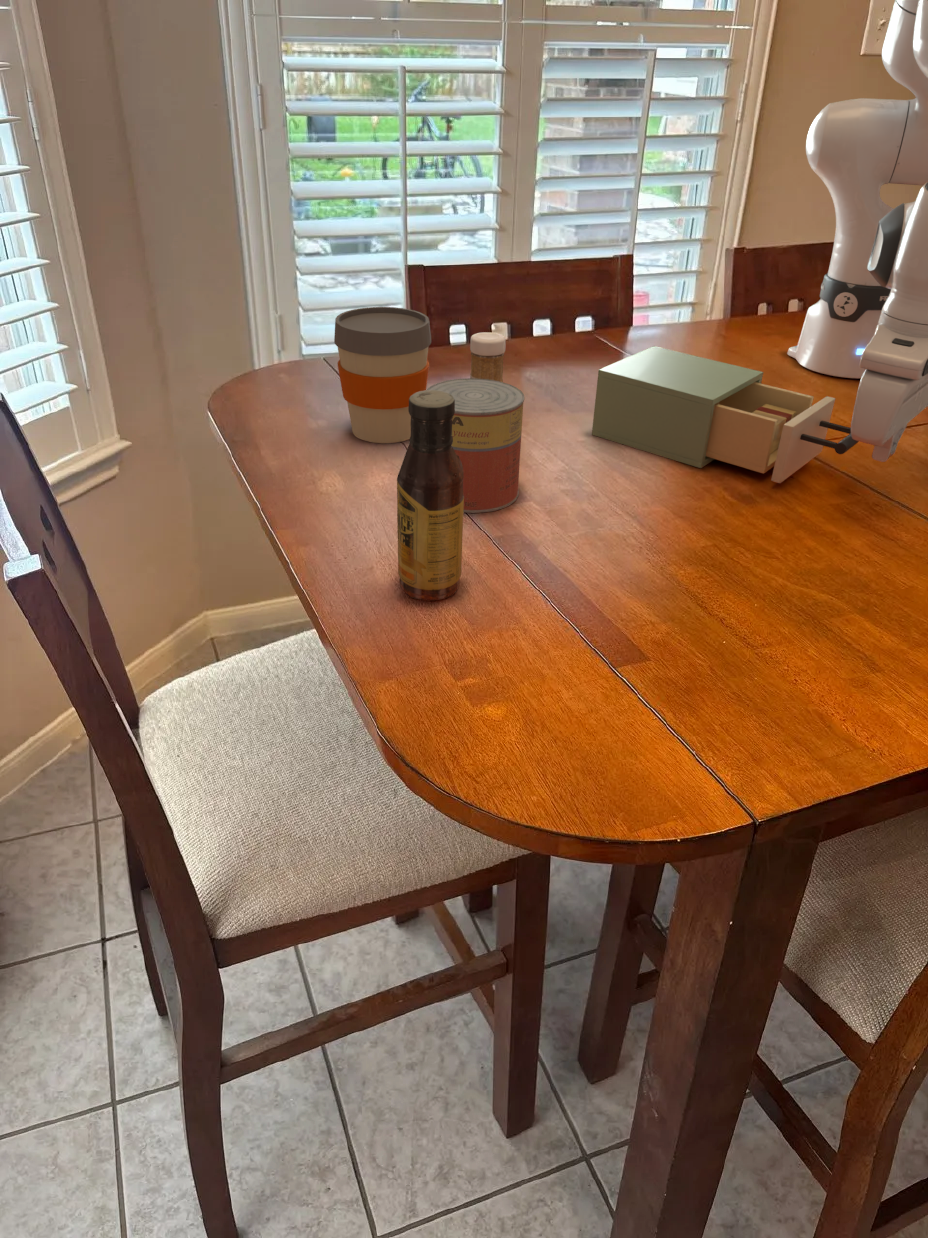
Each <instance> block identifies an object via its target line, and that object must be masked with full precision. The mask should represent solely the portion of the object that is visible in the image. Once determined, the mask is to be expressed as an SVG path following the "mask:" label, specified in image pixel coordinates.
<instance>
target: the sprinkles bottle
mask: <svg viewBox="0 0 928 1238" xmlns="http://www.w3.org/2000/svg"><path fill="white" fill-rule="evenodd" d="M469 341H470V343H469V350H470V355H471V356H470V374H469V378H474V379H488V380H495V381H500V382H504V379H503V377H504V372H503V371H504V356H505V353H506V347H507V345H506V344H507V340H506V337H505V336H504V335H503V334H501V333H498V332H490V331H489V332H488V331H487V332H486V331H485V332H484V331H483V332H477V333H474V334H472V335H471V336H470V340H469Z"/></svg>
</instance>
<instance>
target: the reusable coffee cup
mask: <svg viewBox="0 0 928 1238" xmlns="http://www.w3.org/2000/svg"><path fill="white" fill-rule="evenodd" d="M333 341H334V342H333V343H334V344H335V346H336V347H337V351H338V358H339V360H338V361H337V369H338V375H339V376H338V377H339V381H340V387H341V393H342V397H343V399H344V400H345V402H346V404H347V408H348V414H349V419H350V420H349V421H350V425H351V426H350V427H351V431H352V434H353V436H355V437H356V438H358V439H359V440H362V441H365V442H370V443H373V444H394V443H395V444H396V443H400V442H401V443H402V442H404V441H409V440H410V436H411V416H410V414H409V409H408V408H409V398H410V396H411V395H413V394H414V393H416V392H419V391H424V390H427V386H428V380H429V371H430V370H429V369H430V361H429V360H428V355H429V347H430V346H431V345H432V332H431V324H430V318H429V316H427V315H426V314H425V313H422V312H421V311H418V310H414V309H410V308H404V307H394V306H368V307H367V306H366V307H360V308H354V309H350V310H346V311H344V312H342V313H340V314H338V315H336V317H335V320H334V338H333Z"/></svg>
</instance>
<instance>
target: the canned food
mask: <svg viewBox="0 0 928 1238" xmlns="http://www.w3.org/2000/svg"><path fill="white" fill-rule="evenodd" d="M426 390H438V391H443V392H447V393H449V394H451V395H452V396H453V398H454V400H455V413H454V416H453V418H452V437H453V444H452V447H453V449H454V451H455V453H456V454H457V455H458V456H459V458H460V460H461V462H462V465H463V472H464V478H463V495H464V508H463V513H466V514H482V513H483V514H484V513H491V512H496V511H499V510H502V509H506V508H507V507H509V506H512V505H513V504H514V503H515V502H516V501H517V499H518V498H519V493H520V491H519V482H520V481H519V480H520V478H519V477H520V466H521V464H520V463H521V451H522V450H521V449H522V448H521V447H522V430H523V416H524V415H523V414H524V402H525V394H524V392H523V391H522V390H520V389H519V387H516V386H515V385H513V384H509V383H507V382H504V381H503V382H500V381H495V380H488V379H474V378H470V377H469V378H454V379H449V380H444V381H440V382H437V383H434V384H433V385H431V386H429V387H428V388H426Z"/></svg>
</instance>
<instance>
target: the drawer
mask: <svg viewBox="0 0 928 1238" xmlns="http://www.w3.org/2000/svg"><path fill="white" fill-rule="evenodd" d="M813 402H814V395H810V394H806V393H801V392H798V391H794V390H789V389H785V388H782V387H777V386H774V385H773V386H772V385H769V384H765V383H762V382H761V383H757V382H754V383H752V384H750V385H748V386H747V387H745V388H743V389H741V390H740V391H738V392H736V393H734V394H732V395H731V396H729V397H727V398H725V399H723V400H722V401H720V402H718V403H716V404H715V406H714V411H713V417H712V422H711V428H710V433H709V439H708V444H707V450H706V456H707V457H710V458H713V459H714V460H716V461H720V462H723V463H727V464H730V465H733V466H737V467H740V468H743V469H746V470H750V471H753V472H756V473H760V474H765V473H767V472H768V471H770V470H771V469H772V468H773V470H772V475H771V479H770V481H771V482H774V483H776V484H782V483H783V482H784V481H785V480H787V479H788V478H789V477H791V476H792V475H793V474H795V473H796V472H798V471H799V470H800V469H801V468H803V467H804V466H806V464H808V463H809V462H810V461H812V460H813V459H815V457H817V456H818V455H819V454H821V453H822V452H823V449H824V447H826V448H831V449H833V450H834V452H835V453H836V454H838V455H844V454H845V453H846V452H848V451H849V450H850V449H851V448H853V447H854V446H856V445H857V444H858V443H860V441H856V440H854V439H852V436H851V427H848V426H846V425H841V424H837V423H834V422H831V418H832V414H833V410H834V406H835V403H836V398H835V397H833V396H828V395H826V396H825V397H823V398H822V399H820V400H819V401H817V402H815V403H814V404H813ZM765 404H769V405H773V406H777V407H780V408H784V409H788V410H792V411H796V415H795V417H794V418H793V419H791V420H790V421H788V422H787V423H785V424H784V426H783V430H782V435H781V439H780V444H779V448H778V449H777V450H775V451H774V452H773V453H771V448H772V444H773V439H774V435H775V430H776V426H777V421H778V420H776V419H773V418H769V417H765V416H761V415H757V414H754V413H752V412H754V411H755V410H756V409H757V408H759V407H761V406H763V405H765ZM828 429H830V430H834V431H837V432H841V433H845V434H847V435H846V436H845V437H844V438H843V439H841V440H840V441H838V442H835V441H832V440H828V439H826V437H827V433H828ZM770 453H771V454H770Z"/></svg>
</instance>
